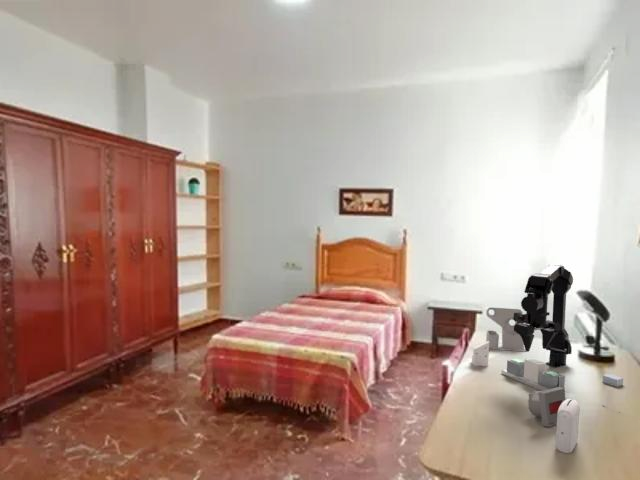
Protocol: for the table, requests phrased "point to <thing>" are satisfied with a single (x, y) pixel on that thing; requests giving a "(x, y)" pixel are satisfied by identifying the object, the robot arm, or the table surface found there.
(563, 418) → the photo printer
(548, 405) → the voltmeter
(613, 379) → the relay block
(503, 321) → the grey bracket with hole
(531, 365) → the block
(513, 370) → the rail
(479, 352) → the white angled block
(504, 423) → the table surface
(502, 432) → the table surface
